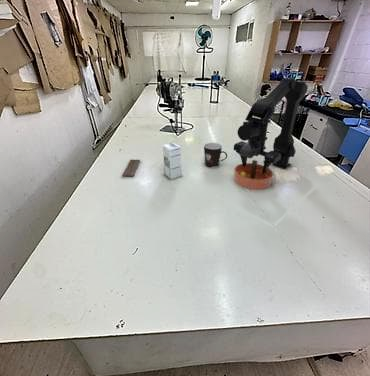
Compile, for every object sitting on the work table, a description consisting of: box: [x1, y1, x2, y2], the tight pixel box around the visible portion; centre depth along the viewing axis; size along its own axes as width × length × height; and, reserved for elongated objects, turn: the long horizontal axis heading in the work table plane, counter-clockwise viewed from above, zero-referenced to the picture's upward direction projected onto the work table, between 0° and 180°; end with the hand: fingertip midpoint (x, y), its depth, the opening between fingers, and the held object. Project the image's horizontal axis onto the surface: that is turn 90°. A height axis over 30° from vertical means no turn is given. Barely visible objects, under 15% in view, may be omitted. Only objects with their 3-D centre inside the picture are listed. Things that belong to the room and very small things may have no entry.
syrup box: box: [162, 142, 182, 180], centre depth 103 cm, size 6×6×14 cm
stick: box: [250, 159, 258, 179], centre depth 99 cm, size 2×2×9 cm
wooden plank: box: [122, 158, 141, 177], centre depth 111 cm, size 17×1×5 cm
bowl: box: [233, 162, 274, 191], centre depth 100 cm, size 16×16×5 cm
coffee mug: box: [203, 142, 228, 169], centre depth 113 cm, size 12×9×10 cm
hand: (253, 170), depth 99 cm, fingers open, 9 cm apart
